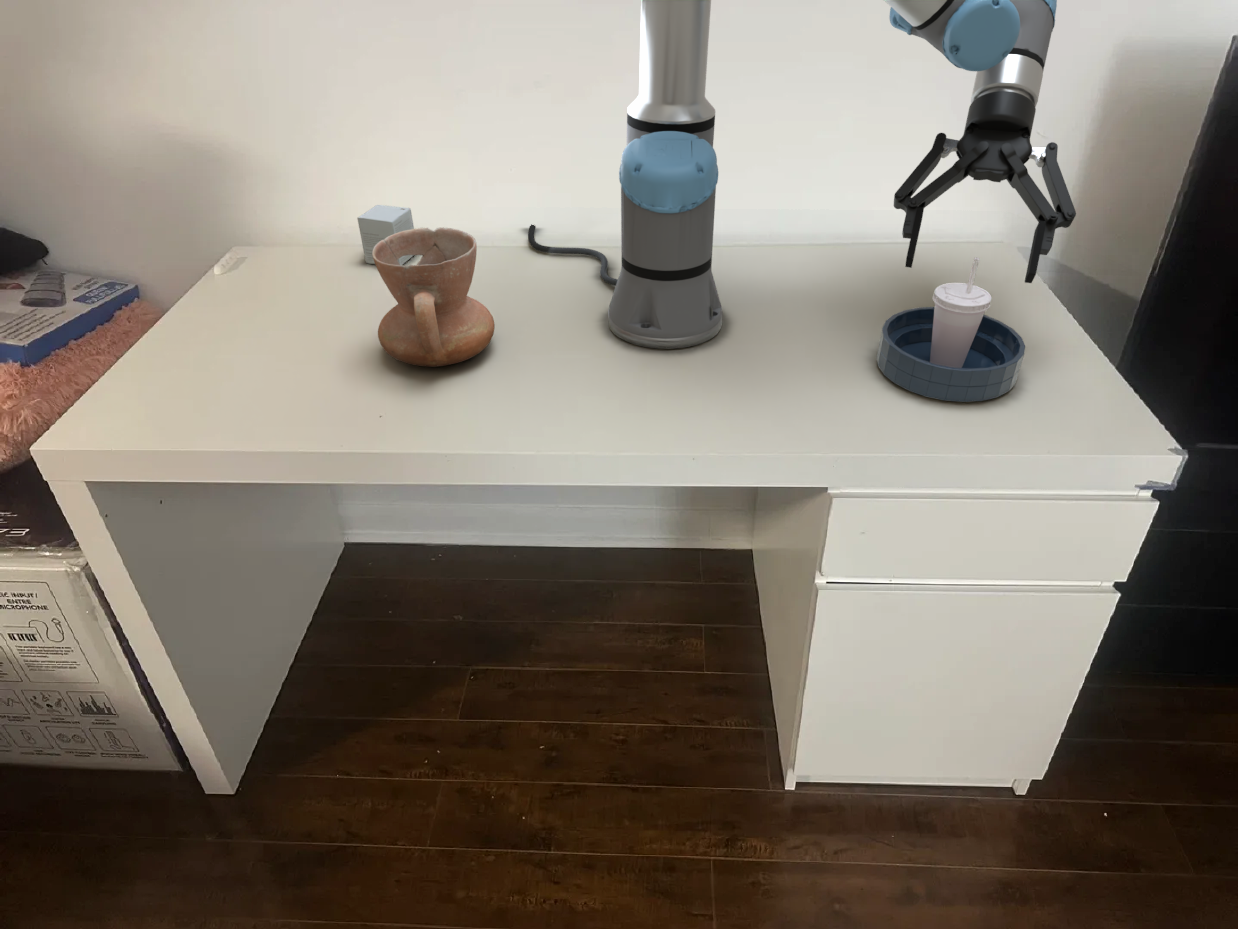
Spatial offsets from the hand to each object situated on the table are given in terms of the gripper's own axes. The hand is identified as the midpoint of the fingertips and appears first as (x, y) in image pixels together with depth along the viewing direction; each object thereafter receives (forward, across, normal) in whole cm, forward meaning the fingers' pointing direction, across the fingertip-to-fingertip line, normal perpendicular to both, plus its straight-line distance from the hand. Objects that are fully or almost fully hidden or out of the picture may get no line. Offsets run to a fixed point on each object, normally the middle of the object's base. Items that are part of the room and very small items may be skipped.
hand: (968, 270), depth 103 cm
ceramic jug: (+23, +61, +7) cm, 65 cm away
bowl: (+11, 0, -5) cm, 12 cm away
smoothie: (+11, 0, -5) cm, 12 cm away
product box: (+6, +83, -10) cm, 84 cm away
